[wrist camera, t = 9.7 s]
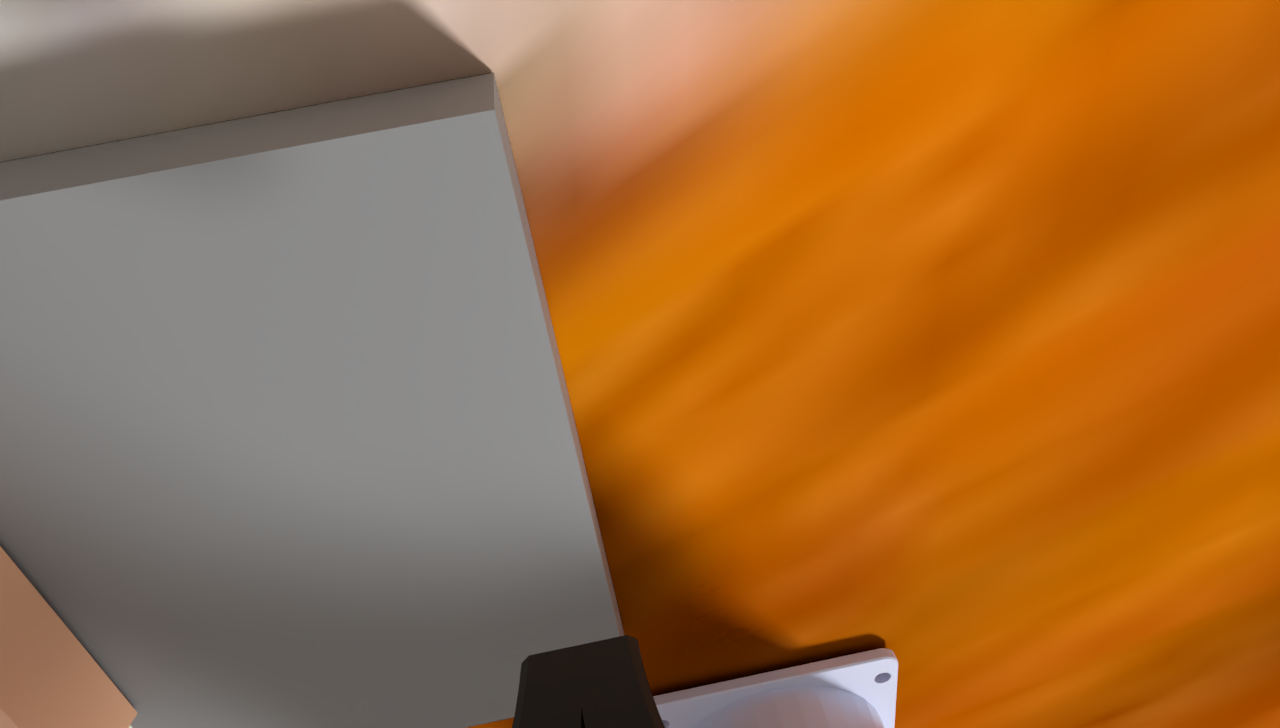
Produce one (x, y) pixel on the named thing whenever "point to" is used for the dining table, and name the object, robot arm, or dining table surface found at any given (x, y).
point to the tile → (48, 666)
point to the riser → (295, 417)
